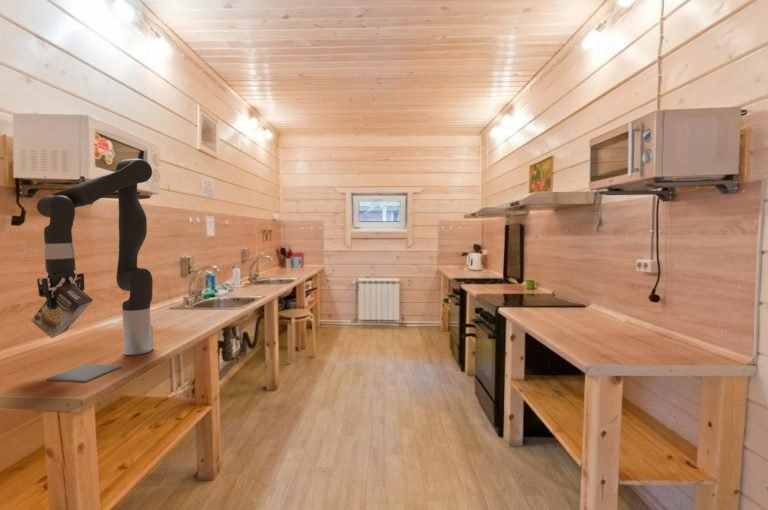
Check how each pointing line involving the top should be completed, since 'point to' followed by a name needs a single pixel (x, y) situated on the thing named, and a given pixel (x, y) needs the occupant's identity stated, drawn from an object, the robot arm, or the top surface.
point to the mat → (84, 373)
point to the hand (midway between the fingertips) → (64, 306)
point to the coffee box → (62, 310)
